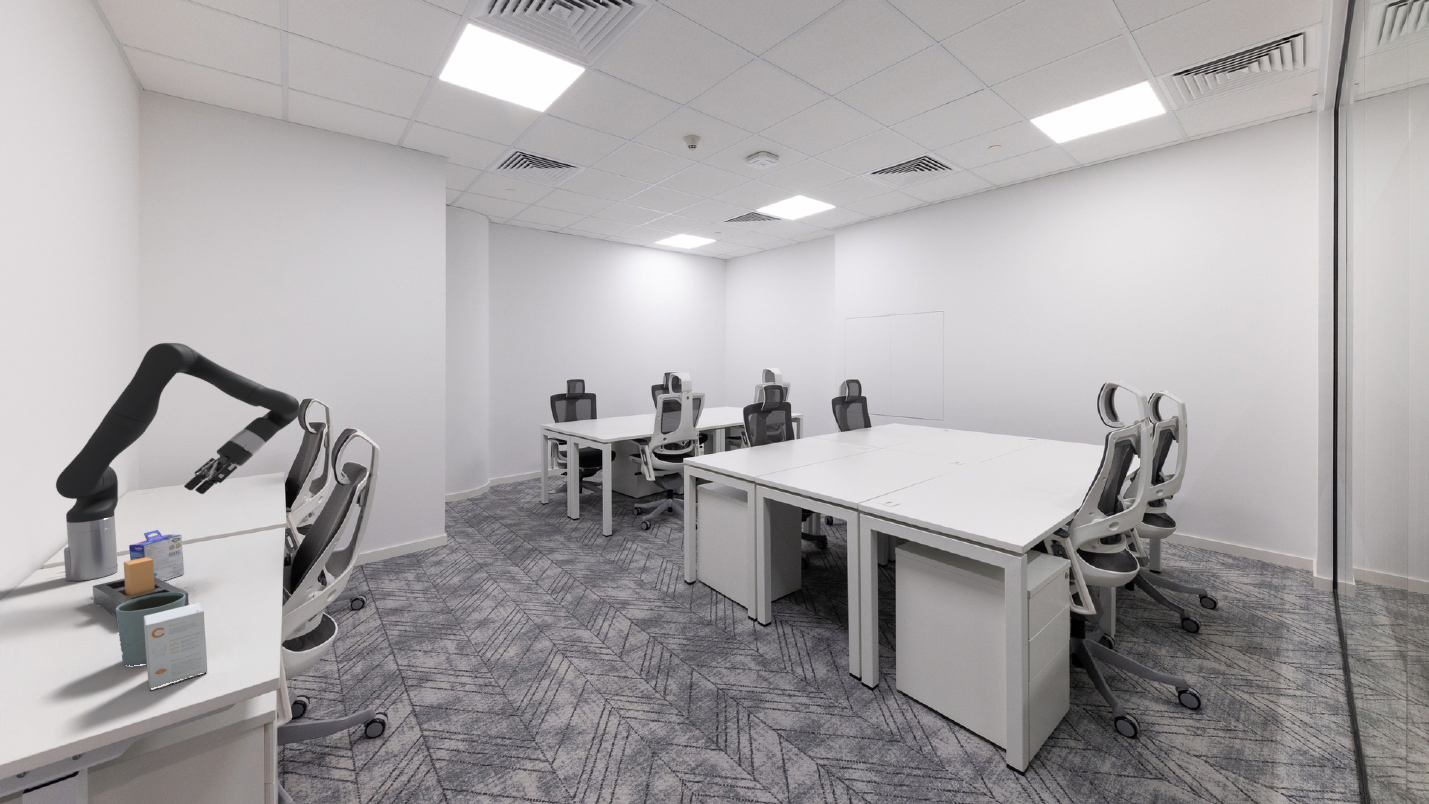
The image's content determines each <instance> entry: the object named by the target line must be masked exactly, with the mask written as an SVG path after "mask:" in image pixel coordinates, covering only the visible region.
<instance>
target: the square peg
mask: <svg viewBox="0 0 1429 804" xmlns="http://www.w3.org/2000/svg"><path fill="white" fill-rule="evenodd" d="M123 571H124V572H123V574H124V575H123V577H124V578H125V594H126V596H129V595H133V594H137V593H141V592H145V591H149V590H152V589H155V584H154V567H153V559H150V558H148V557H145V558H140V559H135V560H127V561H126V560H125V561H124V562H123Z"/></svg>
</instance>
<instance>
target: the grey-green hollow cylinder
mask: <svg viewBox="0 0 1429 804" xmlns="http://www.w3.org/2000/svg"><path fill="white" fill-rule="evenodd" d="M185 597H186V595H185V594H184V593H181V592H167V593H159V594H153V595H148V596H143V597H140V598H136V599H133V600H130V601H127V602H125V603H122V604H121V605H119V606H118V607H117V608H116V609H115V610H116V616H117V617H116V616H115V617H116V620H117V621H116V622H117V626H118V633H119V634H118V637H119V643H120V644H119V645H120V651H121V653H122V654H121V659H122V664H123V666H124V665H127V666H129V665H130V666H134V665H140V664H147V660H146V645H145V631H144V616H146V615H150V614H154V613H158V612H163V611H167V610H171V609H175V608H179V607H183V606H185Z"/></svg>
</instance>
